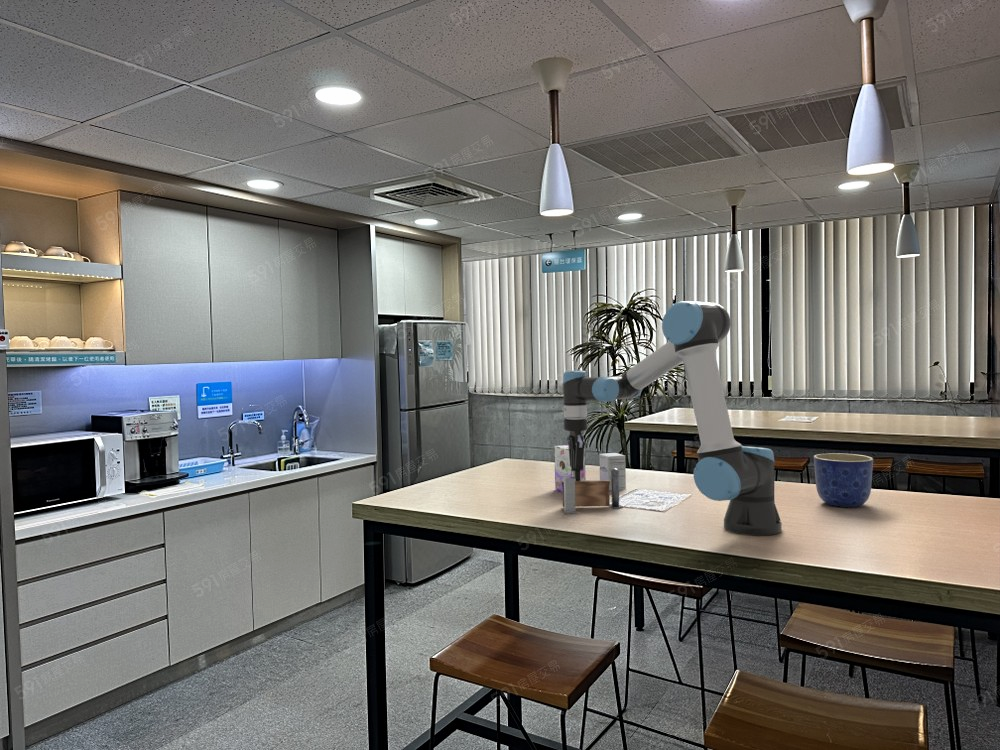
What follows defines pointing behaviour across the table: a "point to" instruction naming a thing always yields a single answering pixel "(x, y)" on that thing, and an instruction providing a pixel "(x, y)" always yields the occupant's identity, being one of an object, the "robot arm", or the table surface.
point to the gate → (591, 493)
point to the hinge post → (615, 489)
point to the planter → (843, 478)
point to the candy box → (564, 466)
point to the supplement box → (611, 462)
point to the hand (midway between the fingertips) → (576, 489)
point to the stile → (569, 495)
